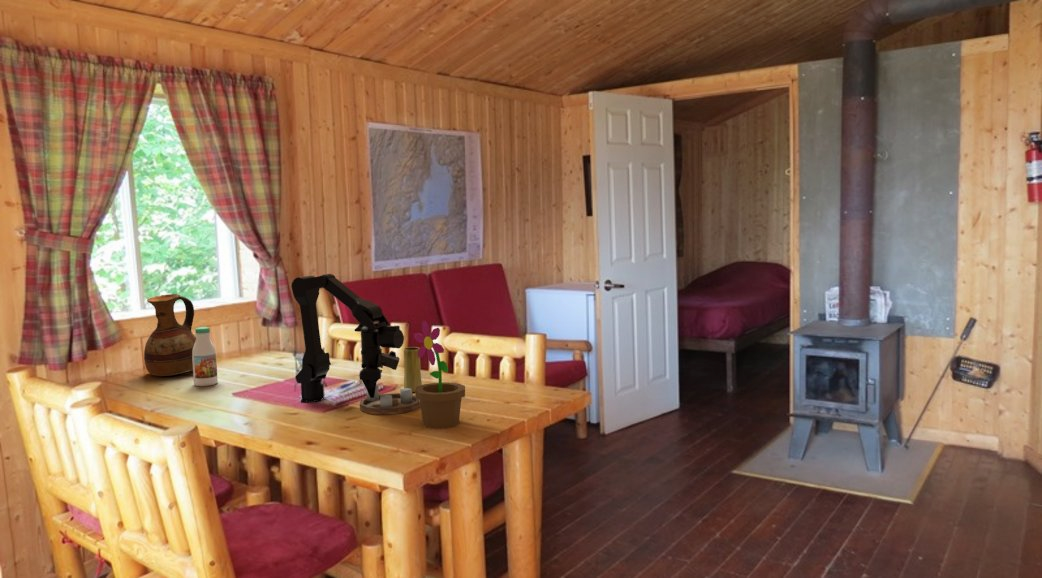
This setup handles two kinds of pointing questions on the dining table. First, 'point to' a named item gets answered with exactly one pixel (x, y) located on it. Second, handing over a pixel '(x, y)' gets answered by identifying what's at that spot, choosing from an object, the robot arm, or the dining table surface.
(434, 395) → the flowerpot
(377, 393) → the bead
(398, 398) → the tray
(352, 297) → the robot arm
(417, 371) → the vase
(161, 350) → the ceramic pitcher
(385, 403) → the bead
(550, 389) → the dining table surface
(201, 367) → the milk bottle
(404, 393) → the bead seated
